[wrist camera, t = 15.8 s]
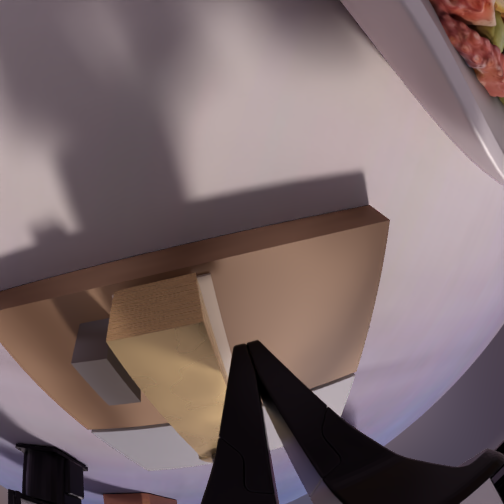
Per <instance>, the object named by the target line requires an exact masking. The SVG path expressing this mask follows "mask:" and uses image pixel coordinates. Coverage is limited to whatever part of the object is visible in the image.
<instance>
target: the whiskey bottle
mask: <svg viewBox="0 0 504 504" xmlns="http://www.w3.org/2000/svg"><path fill="white" fill-rule="evenodd" d="M103 498H104V504H177V500H173V499H169V498H164V497H160V496H156V495H152V494H147V493H133V494H103Z"/></svg>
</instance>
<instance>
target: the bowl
mask: <svg viewBox="0 0 504 504" xmlns="http://www.w3.org/2000/svg"><path fill="white" fill-rule="evenodd" d="M340 1H341V2H342V4H343V5H344V6H345V7H346V9H347V10H348V11H349V13H350V14H351V15H352V16H353V18H354V19H355V20H356V22H357V23H358V24H359V26H360V27H361V28H362V30H363V31H364V32H365V33H366V35H367V36H368V37H369V39H370V40H371V41H372V43H373V44H374V45H375V47H376V48H377V49H378V50H379V52H380V53H381V54H382V56H383V57H384V58H385V59H386V61H387V62H388V63H389V65H390V66H391V67H392V69H393V70H394V71H395V72H396V74H397V75H398V76H399V77H400V79H401V80H402V81H403V83H404V84H405V85H406V87H407V88H408V89H409V90H410V91H411V93H412V94H413V95H414V96H415V98H416V99H417V100H418V101H419V103H420V104H421V105H422V107H423V108H424V109H425V110H426V111H427V113H428V114H429V115H430V116H431V117H432V119H433V120H434V121H435V122H436V123H437V125H438V126H439V127H440V128H441V129H442V130H443V131H444V132H445V134H446V135H447V136H448V137H449V138H450V139H451V140H452V142H453V143H454V144H455V145H456V146H457V147H458V148H459V149H460V150H461V151H462V152H463V153H464V154H465V155H466V156H467V157H468V158H469V159H470V160H471V161H472V162H474V163H475V164H476V165H477V166H478V167H479V168H480V169H481V170H482V171H484V172H485V173H486V174H487V175H489V176H490V177H491V178H493V179H494V180H495V181H497V182H498V183H500V184H501V185H503V186H504V0H340Z"/></svg>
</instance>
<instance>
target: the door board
mask: <svg viewBox="0 0 504 504" xmlns="http://www.w3.org/2000/svg"><path fill="white" fill-rule="evenodd" d="M389 222H390V220H389V219H388V218H386V217H385V216H384V215H382V214H381V213H380V212H378V211H377V210H376V209H374V208H373V207H372V206H370V205H367V206H362V207H357V208H352V209H347V210H342V211H337V212H332V213H327V214H322V215H317V216H312V217H307V218H302V219H298V220H293V221H288V222H283V223H279V224H274V225H269V226H265V227H260V228H255V229H251V230H246V231H242V232H237V233H233V234H228V235H224V236H219V237H215V238H210V239H206V240H202V241H197V242H193V243H189V244H184V245H180V246H176V247H171V248H167V249H163V250H159V251H155V252H150V253H146V254H142V255H138V256H134V257H130V258H126V259H122V260H117V261H113V262H109V263H105V264H101V265H97V266H94V267H90V268H86V269H82V270H78V271H74V272H70V273H66V274H62V275H59V276H55V277H51V278H47V279H44V280H40V281H36V282H32V283H29V284H25V285H21V286H18V287H14V288H11V289H7V290H3V291H0V342H1V344H2V345H3V346H4V347H5V349H6V350H7V351H8V352H9V354H10V355H11V356H12V357H13V358H14V359H15V361H16V362H17V363H18V364H19V365H20V366H21V367H22V369H23V370H24V371H25V372H26V373H27V374H28V375H29V376H30V377H31V378H32V379H33V380H34V381H35V382H36V383H37V385H38V386H39V387H40V388H41V389H42V390H43V391H44V392H46V393H47V394H48V395H49V396H50V397H51V398H52V399H53V400H54V401H55V402H56V403H57V404H58V405H59V406H60V407H62V408H63V409H64V410H65V411H66V412H67V413H68V414H69V415H71V416H72V417H73V418H74V419H75V420H77V421H78V422H79V423H80V424H81V425H83V426H84V427H85V428H86V429H88V430H89V429H112V428H126V427H137V426H146V425H155V424H163V423H168V422H167V421H166V419H165V418H164V417H163V416H162V415H161V414H160V413H159V411H158V410H157V409H156V408H155V407H154V405H153V404H152V403H151V402H150V401H149V399H148V398H147V397H146V396H145V394H144V393H143V392H142V391H141V389H140V388H139V387H138V386H137V384H136V383H135V382H134V380H133V379H132V378H131V376H130V375H129V374H128V372H127V371H126V370H125V368H124V367H123V366H122V364H121V363H120V361H119V360H118V359H117V357H116V356H115V354H114V353H113V351H112V350H111V348H110V347H109V345H108V344H107V342H106V338H107V331H108V324H109V318H110V312H111V307H112V301H113V296H114V291H118V290H122V289H127V288H131V287H136V286H140V285H144V284H149V283H153V282H157V281H161V280H166V279H170V278H174V277H179V276H183V275H187V274H192V273H196V276H197V280H198V283H199V287H200V290H201V293H202V297H203V300H204V304H205V307H206V310H207V314H208V317H209V320H210V323H211V326H212V330H213V333H214V336H215V339H216V342H217V345H218V348H219V351H220V354H221V358H222V361H223V363H224V366H225V369H226V372H227V375H228V376H229V370H230V364H231V357H232V351H233V347H234V346H235V345H239V344H243V343H245V344H247V343H248V342H251V341H254V340H259V341H260V342H261V343H262V344H263V345H264V346H265V347H266V348H267V349H268V350H269V351H270V352H271V353H272V354H273V355H274V356H275V357H277V358H278V359H279V360H280V361H281V362H282V363H283V364H284V365H285V366H286V367H287V368H288V369H289V370H290V371H291V372H292V373H293V374H294V375H295V376H296V377H297V378H298V379H299V380H300V381H301V382H303V383H304V384H305V385H306V386H307V387H308V388H309V389H311V388H314V387H316V386H319V385H322V384H325V383H328V382H330V381H333V380H336V379H338V378H341V377H344V376H346V375H349V374H351V373H354V372H356V371H357V368H358V364H359V361H360V358H361V354H362V351H363V347H364V344H365V340H366V337H367V333H368V329H369V325H370V321H371V317H372V313H373V309H374V305H375V300H376V296H377V291H378V286H379V282H380V277H381V271H382V266H383V261H384V255H385V249H386V243H387V236H388V230H389ZM261 401H262V399H261ZM262 403H263V402H262Z"/></svg>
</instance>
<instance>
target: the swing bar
mask: <svg viewBox="0 0 504 504" xmlns="http://www.w3.org/2000/svg"><path fill="white" fill-rule="evenodd" d="M106 342H107V344H108V345H109V347H110V348H111V350H112V351H113V353H114V354H115V356H116V357H117V359H118V360H119V361H120V363H121V364H122V366H123V367H124V368H125V370H126V371H127V372H128V374H129V375H130V376H131V378H132V379H133V380H134V382H135V383H136V384H137V386H138V387H139V388H140V389H141V391H142V392H143V393H144V394H145V396H146V397H147V398H148V399H149V401H150V402H151V403H152V404H153V405H154V407H155V408H156V409H157V410H158V411H159V413H160V414H161V415H162V416H163V417H164V418H165V419H166V421H167V422H168V423H169V424H170V425H171V426H172V427H173V428H174V429H175V430H176V432H177V433H178V434H179V435H180V436H181V437H182V438H183V439H184V440H185V441H186V442H187V443H188V444H189V445H190V446H191V447H192V448H193V449H194V450H195V451H196V452H197V453H198V456H199V459H200V460H202V461H205V462H211V463H214V458H215V453H216V448H217V442H218V438H219V431H220V425H221V419H222V412H223V406H224V400H225V394H226V388H227V382H228V375H227V372H226V369H225V366H224V363H223V361H222V358H221V354H220V351H219V348H218V345H217V342H216V339H215V336H214V333H213V330H212V326H211V323H210V320H209V317H208V314H207V310H206V307H205V304H204V300H203V297H202V293H201V290H200V287H199V283H198V280H197V276H196V273H192V274H187V275H183V276H179V277H174V278H170V279H166V280H161V281H157V282H153V283H149V284H144V285H140V286H136V287H131V288H127V289H122V290H118V291H114V296H113V301H112V307H111V312H110V318H109V324H108V331H107V338H106Z"/></svg>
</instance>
